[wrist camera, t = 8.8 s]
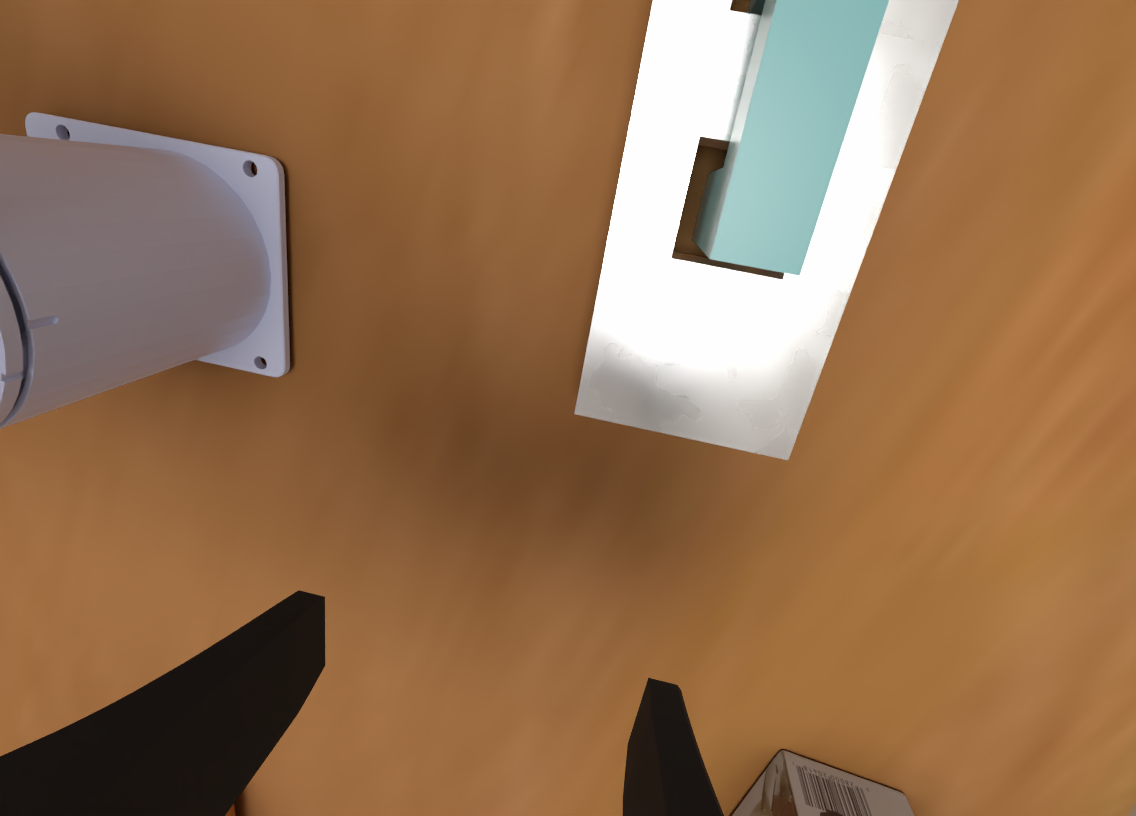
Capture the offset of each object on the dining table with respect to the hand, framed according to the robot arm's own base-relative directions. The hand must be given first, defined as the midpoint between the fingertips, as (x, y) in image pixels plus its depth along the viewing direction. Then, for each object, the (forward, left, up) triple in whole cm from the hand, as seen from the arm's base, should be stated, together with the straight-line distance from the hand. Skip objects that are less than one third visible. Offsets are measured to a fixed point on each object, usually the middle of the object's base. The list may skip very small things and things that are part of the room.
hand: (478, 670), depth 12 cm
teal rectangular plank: (+4, +13, -10) cm, 17 cm away
